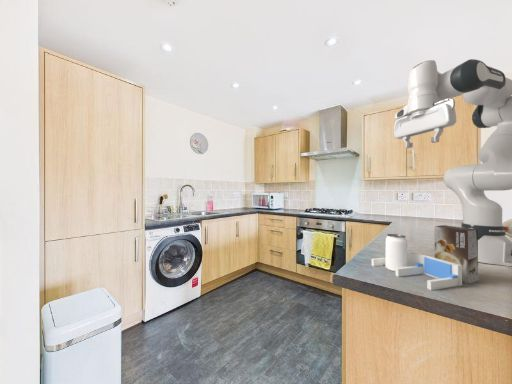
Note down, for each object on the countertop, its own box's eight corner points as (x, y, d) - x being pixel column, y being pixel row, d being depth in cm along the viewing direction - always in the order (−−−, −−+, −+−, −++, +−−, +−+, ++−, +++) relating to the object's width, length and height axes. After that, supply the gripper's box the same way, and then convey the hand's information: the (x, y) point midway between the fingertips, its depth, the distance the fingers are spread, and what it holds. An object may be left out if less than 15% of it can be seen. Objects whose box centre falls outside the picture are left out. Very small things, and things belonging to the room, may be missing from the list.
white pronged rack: (397, 262, 83) (397, 247, 83) (461, 285, 62) (462, 265, 62) (371, 265, 79) (371, 249, 79) (430, 290, 59) (430, 269, 59)
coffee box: (479, 280, 66) (479, 229, 66) (468, 284, 64) (469, 230, 64) (444, 270, 74) (444, 224, 74) (433, 273, 72) (433, 225, 72)
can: (410, 273, 72) (411, 237, 72) (389, 272, 73) (389, 237, 73) (401, 266, 78) (402, 234, 78) (382, 265, 79) (382, 233, 79)
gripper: (461, 96, 69) (461, 139, 69) (403, 117, 89) (402, 150, 89) (447, 94, 68) (446, 137, 68) (391, 116, 87) (390, 149, 87)
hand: (421, 145), depth 79 cm, fingers open, 8 cm apart
